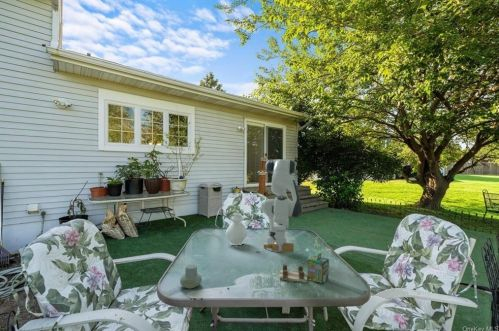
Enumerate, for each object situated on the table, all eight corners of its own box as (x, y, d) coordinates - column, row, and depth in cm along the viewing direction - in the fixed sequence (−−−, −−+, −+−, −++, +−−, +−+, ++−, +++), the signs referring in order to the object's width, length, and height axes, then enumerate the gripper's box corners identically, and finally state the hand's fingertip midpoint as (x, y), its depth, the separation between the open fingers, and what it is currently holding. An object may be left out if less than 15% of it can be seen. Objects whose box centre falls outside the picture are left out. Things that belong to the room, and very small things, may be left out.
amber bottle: (264, 243, 149) (264, 239, 145) (293, 245, 146) (293, 241, 143) (263, 251, 146) (263, 248, 142) (293, 253, 143) (293, 250, 139)
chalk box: (313, 274, 147) (314, 249, 147) (329, 279, 141) (329, 252, 142) (306, 279, 140) (307, 253, 140) (322, 284, 134) (322, 257, 134)
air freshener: (202, 282, 134) (203, 263, 134) (200, 289, 125) (200, 269, 126) (182, 282, 133) (182, 263, 133) (178, 289, 125) (178, 269, 125)
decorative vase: (247, 247, 196) (247, 215, 197) (224, 247, 196) (225, 215, 197) (247, 241, 214) (248, 212, 214) (227, 240, 214) (227, 211, 215)
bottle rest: (279, 272, 149) (280, 264, 149) (305, 274, 147) (305, 265, 147) (279, 280, 138) (279, 271, 138) (307, 282, 136) (307, 273, 136)
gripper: (276, 220, 155) (275, 242, 155) (274, 227, 135) (273, 253, 135) (286, 221, 154) (286, 243, 154) (286, 228, 134) (285, 254, 134)
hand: (280, 248), depth 144 cm, fingers closed on amber bottle, 5 cm apart
